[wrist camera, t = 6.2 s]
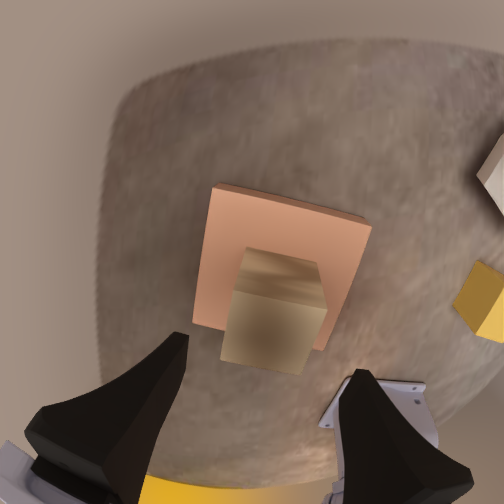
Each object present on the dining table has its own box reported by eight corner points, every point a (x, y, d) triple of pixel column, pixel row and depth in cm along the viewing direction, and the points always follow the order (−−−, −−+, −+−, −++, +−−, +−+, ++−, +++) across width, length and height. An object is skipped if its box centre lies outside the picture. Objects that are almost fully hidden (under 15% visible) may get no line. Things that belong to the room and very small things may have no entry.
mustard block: (530, 298, 15) (505, 284, 15) (502, 343, 17) (475, 334, 17) (503, 274, 20) (476, 259, 19) (480, 315, 21) (451, 304, 21)
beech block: (316, 262, 19) (327, 309, 14) (297, 319, 20) (300, 375, 15) (246, 246, 19) (233, 290, 14) (234, 306, 20) (219, 359, 15)
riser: (364, 218, 19) (372, 226, 17) (320, 335, 23) (323, 350, 21) (219, 182, 19) (212, 187, 17) (198, 308, 23) (192, 322, 21)
